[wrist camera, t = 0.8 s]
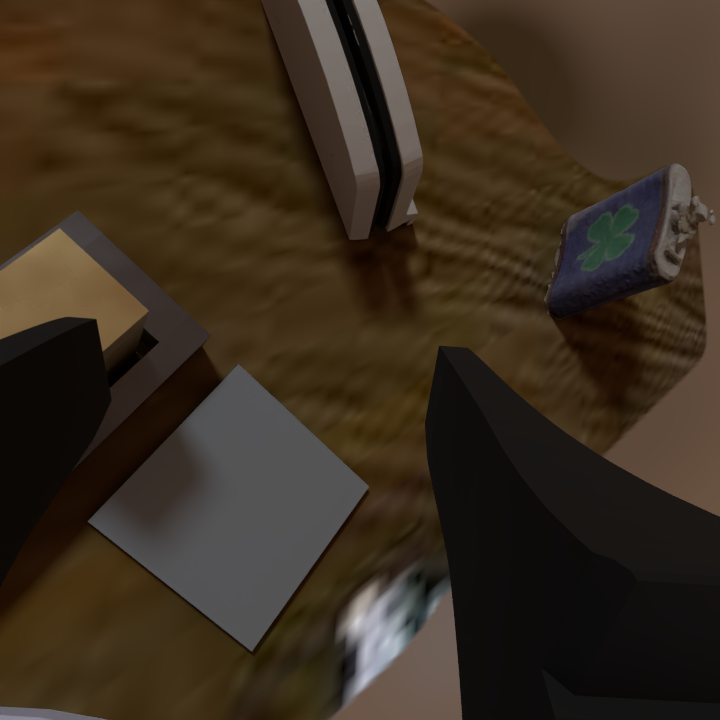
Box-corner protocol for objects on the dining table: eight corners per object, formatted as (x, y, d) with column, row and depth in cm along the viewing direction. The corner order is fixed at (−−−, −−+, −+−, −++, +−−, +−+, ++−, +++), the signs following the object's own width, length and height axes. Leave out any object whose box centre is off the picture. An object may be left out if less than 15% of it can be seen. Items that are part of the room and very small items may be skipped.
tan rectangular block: (70, 412, 24) (57, 391, 17) (-1, 352, 24) (-45, 303, 16) (136, 352, 26) (149, 310, 19) (71, 294, 25) (59, 228, 18)
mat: (249, 649, 26) (251, 651, 26) (87, 520, 24) (87, 521, 23) (365, 486, 30) (369, 486, 30) (236, 365, 28) (238, 364, 28)
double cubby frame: (-85, 625, 21) (-107, 644, 18) (-275, 494, 19) (-324, 498, 17) (202, 345, 27) (211, 335, 25) (79, 232, 26) (78, 210, 24)
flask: (564, 211, 42) (700, 138, 32) (590, 230, 43) (729, 165, 33) (539, 310, 39) (682, 261, 29) (567, 329, 40) (714, 287, 30)
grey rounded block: (414, 228, 35) (462, 163, 25) (348, 251, 34) (371, 193, 24) (327, -5, 35) (342, -161, 25) (260, 12, 34) (247, -141, 25)
